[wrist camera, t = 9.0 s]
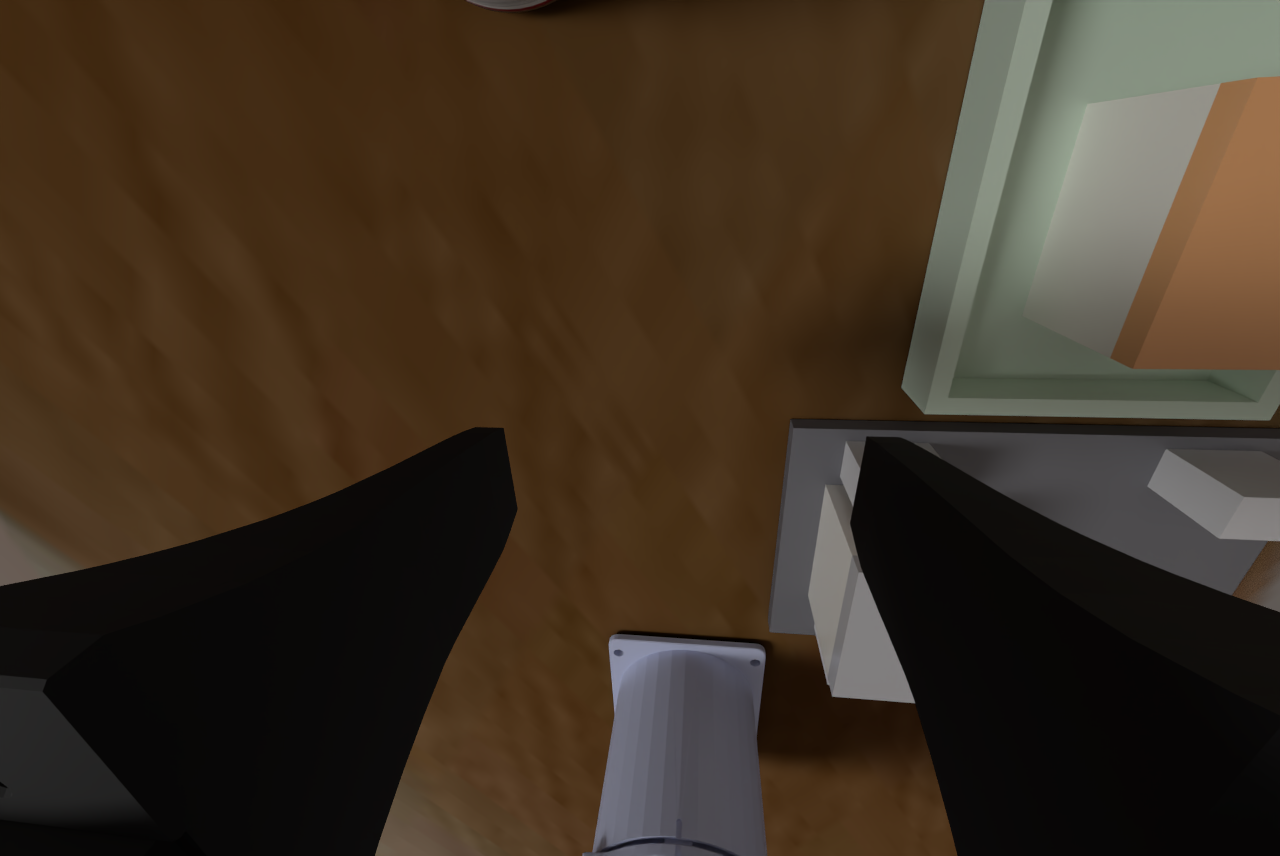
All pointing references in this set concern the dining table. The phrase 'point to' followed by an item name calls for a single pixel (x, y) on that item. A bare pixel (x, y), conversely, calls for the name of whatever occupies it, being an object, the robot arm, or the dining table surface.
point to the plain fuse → (850, 613)
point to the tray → (1028, 193)
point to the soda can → (511, 5)
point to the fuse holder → (1058, 491)
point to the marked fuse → (1170, 231)
